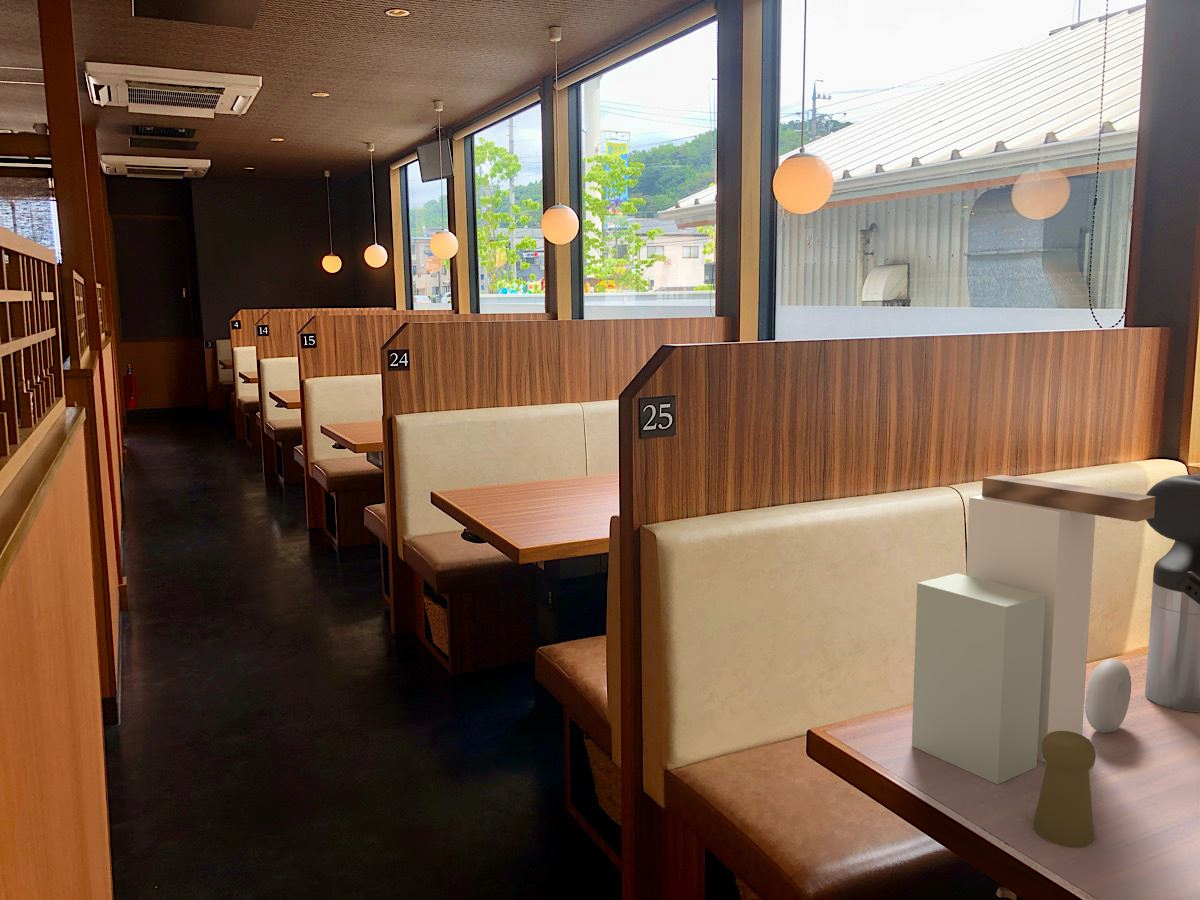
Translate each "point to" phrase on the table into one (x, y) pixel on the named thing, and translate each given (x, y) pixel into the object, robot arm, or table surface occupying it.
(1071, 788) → the cork
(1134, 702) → the table surface
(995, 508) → the stand
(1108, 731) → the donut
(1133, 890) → the table surface
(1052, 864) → the table surface
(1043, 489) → the slat
